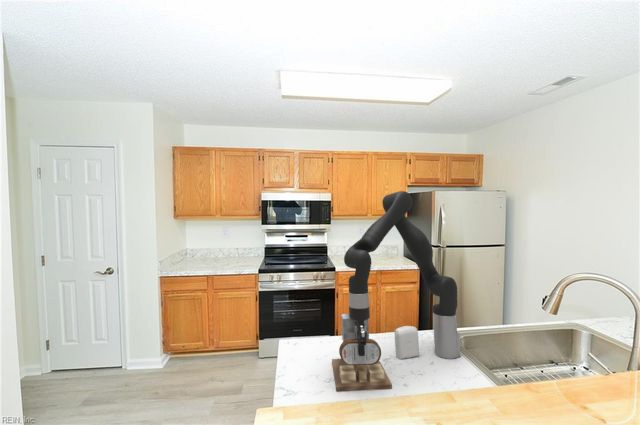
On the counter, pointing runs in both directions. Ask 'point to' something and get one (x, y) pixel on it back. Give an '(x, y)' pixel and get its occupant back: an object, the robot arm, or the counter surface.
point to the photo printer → (406, 342)
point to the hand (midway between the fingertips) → (360, 353)
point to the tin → (350, 352)
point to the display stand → (358, 367)
